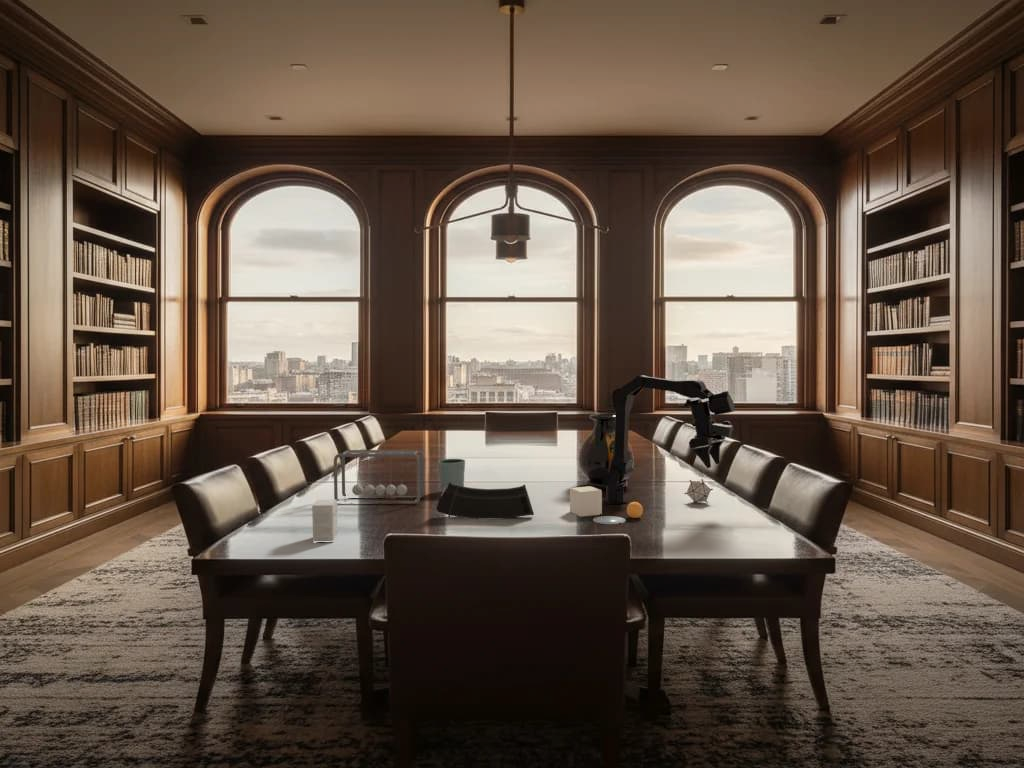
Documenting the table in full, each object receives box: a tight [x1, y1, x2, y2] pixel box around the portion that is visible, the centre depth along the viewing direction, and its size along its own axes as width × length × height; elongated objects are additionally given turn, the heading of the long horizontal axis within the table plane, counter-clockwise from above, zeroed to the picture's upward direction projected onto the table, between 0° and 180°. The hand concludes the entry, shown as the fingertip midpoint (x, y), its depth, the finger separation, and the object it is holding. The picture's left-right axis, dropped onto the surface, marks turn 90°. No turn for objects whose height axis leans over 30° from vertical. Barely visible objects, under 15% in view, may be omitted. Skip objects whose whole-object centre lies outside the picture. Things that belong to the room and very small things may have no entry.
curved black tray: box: [436, 482, 535, 519], centre depth 221 cm, size 17×3×30 cm
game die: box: [683, 478, 714, 505], centre depth 241 cm, size 9×8×10 cm
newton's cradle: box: [333, 449, 426, 504], centre depth 247 cm, size 30×10×18 cm, turn 87°
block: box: [569, 486, 603, 518], centre depth 226 cm, size 8×8×8 cm
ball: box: [626, 501, 644, 519], centre depth 219 cm, size 5×5×5 cm
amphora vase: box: [578, 413, 635, 490], centre depth 273 cm, size 22×22×28 cm
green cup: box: [437, 458, 466, 493], centre depth 263 cm, size 10×10×12 cm
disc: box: [592, 515, 627, 525], centre depth 216 cm, size 10×10×1 cm
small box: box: [311, 499, 338, 542], centre depth 195 cm, size 8×6×10 cm
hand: (713, 465), depth 224 cm, fingers open, 9 cm apart
